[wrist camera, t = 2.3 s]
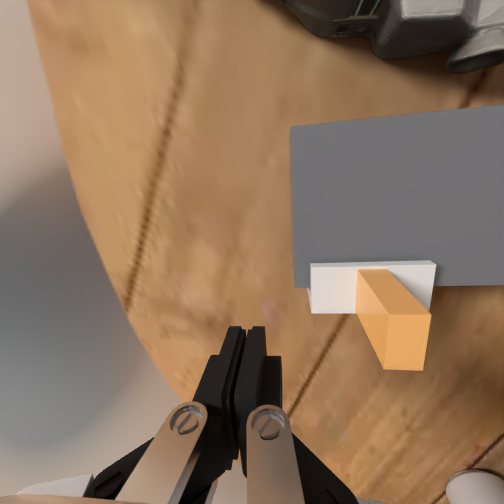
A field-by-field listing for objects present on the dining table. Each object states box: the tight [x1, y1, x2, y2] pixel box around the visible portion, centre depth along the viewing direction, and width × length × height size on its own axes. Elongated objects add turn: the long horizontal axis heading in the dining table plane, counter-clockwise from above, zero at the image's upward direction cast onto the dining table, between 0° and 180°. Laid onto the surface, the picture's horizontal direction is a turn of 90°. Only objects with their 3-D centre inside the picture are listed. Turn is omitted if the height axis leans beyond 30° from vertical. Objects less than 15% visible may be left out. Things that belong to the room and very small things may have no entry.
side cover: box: [307, 260, 436, 371], centre depth 17 cm, size 7×3×13 cm, turn 95°
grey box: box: [289, 105, 504, 288], centre depth 17 cm, size 22×10×8 cm, turn 95°
